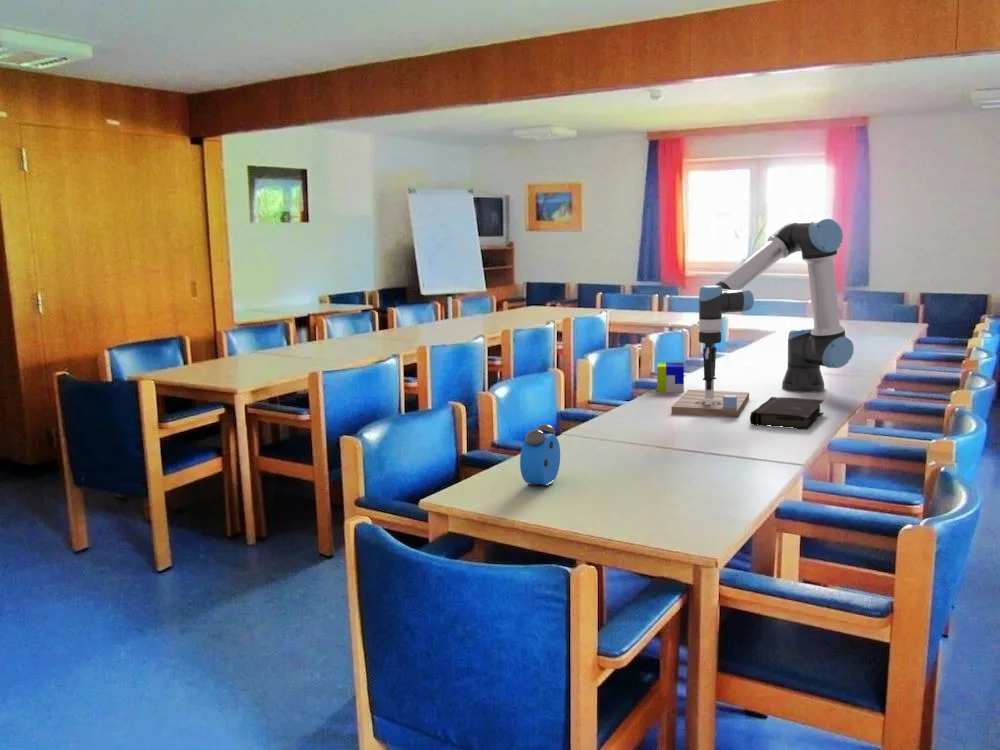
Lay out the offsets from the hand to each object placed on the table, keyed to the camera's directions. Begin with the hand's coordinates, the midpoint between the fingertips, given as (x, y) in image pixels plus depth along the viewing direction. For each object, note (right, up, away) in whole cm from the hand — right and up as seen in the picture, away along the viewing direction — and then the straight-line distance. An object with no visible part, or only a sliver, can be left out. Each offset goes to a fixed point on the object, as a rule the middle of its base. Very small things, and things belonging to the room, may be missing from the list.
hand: (709, 398), depth 285 cm
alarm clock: (-62, -20, -76) cm, 100 cm away
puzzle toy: (-6, +2, +36) cm, 36 cm away
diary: (+21, -7, -17) cm, 28 cm away
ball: (-1, -2, -1) cm, 3 cm away
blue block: (+4, -3, -10) cm, 11 cm away
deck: (+2, -3, +6) cm, 7 cm away
